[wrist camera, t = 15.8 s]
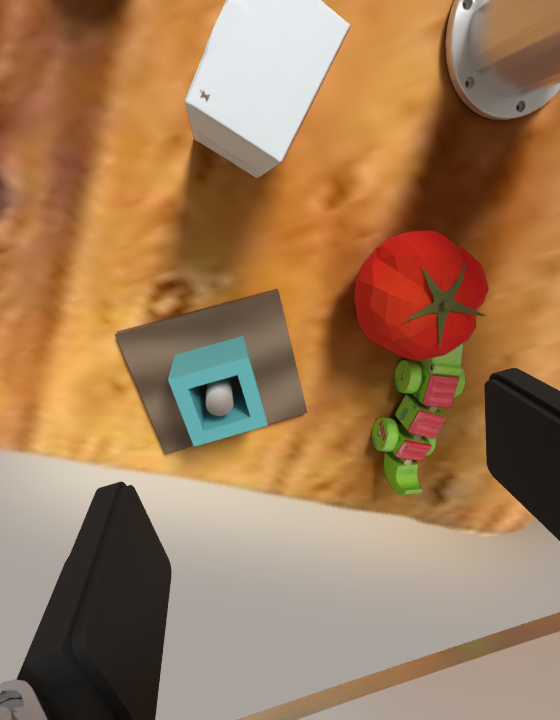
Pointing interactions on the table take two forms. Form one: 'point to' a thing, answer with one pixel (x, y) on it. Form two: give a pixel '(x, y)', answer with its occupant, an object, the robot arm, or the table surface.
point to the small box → (261, 78)
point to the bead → (209, 368)
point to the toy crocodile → (417, 416)
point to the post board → (207, 327)
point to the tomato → (419, 295)
